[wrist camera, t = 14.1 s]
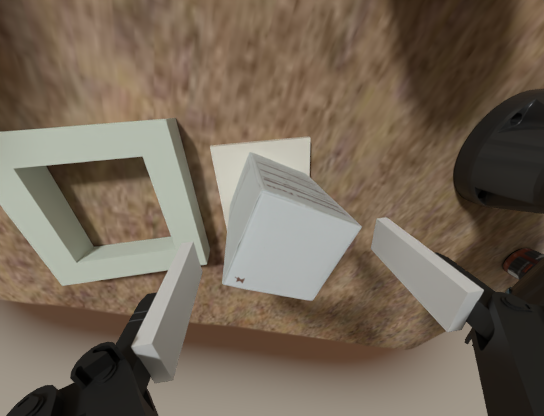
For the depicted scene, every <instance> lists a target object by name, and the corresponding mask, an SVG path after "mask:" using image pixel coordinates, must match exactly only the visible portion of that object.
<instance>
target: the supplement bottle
mask: <svg viewBox="0 0 544 416" xmlns="http://www.w3.org/2000/svg"><path fill="white" fill-rule="evenodd" d="M543 258H544V255H543V254H541V253H539V252H537V251H535V250H532V249H529V248H524V249H521V250H518V251H516V252H514V253H513V254H511V255H510V256H509V257H508V258H507V259H506V260H505V262H504V265H503V269H504V270H505V271H506V272H508V273H509V274H510V275H512V276H514V277H516V278H517V279H519V280H520V279H521V278H522V277H523V276H525V275H526V274H527V273H528V272H529V271H530V270H531V269H532V268H533V267H534V266H535V265H536V264H537V263H538V262H540V261H541V260H542V259H543Z"/></svg>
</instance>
